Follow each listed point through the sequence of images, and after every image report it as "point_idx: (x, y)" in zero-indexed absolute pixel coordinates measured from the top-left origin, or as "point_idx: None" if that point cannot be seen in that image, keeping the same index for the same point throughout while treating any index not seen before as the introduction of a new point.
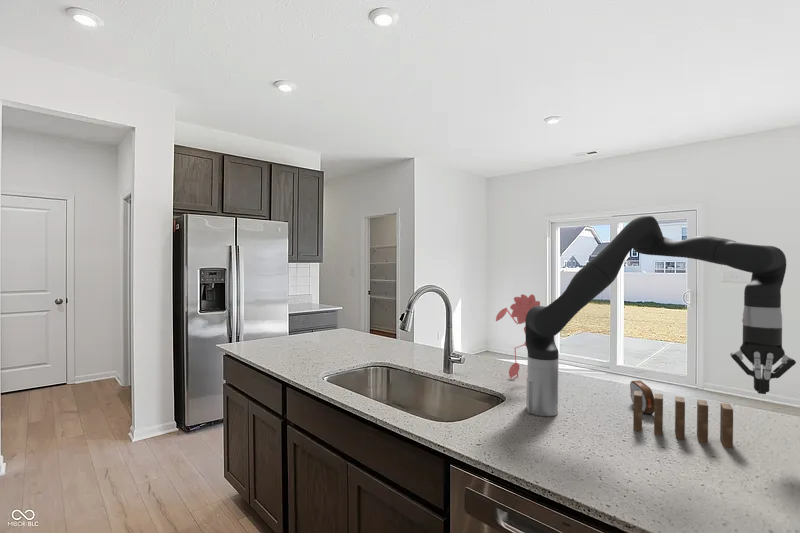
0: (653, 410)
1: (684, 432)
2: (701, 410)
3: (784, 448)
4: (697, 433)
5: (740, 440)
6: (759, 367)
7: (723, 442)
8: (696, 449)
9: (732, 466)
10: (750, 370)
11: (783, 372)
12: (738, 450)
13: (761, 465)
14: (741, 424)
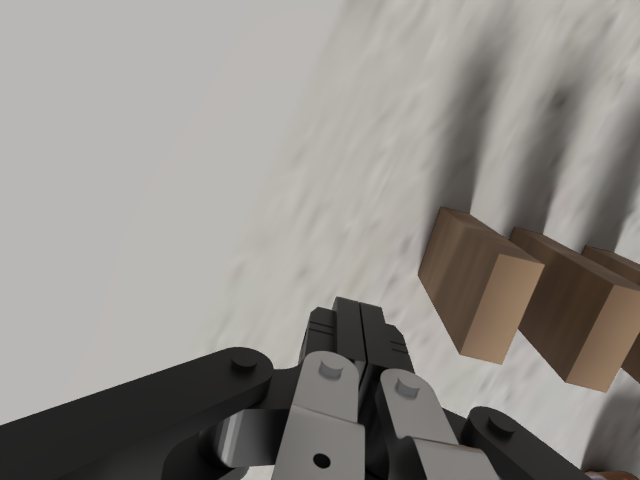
0: (602, 474)
1: (605, 255)
2: (621, 280)
3: (251, 269)
4: None
5: (369, 301)
6: (435, 454)
7: (474, 217)
8: (590, 155)
9: (535, 15)
10: (499, 450)
11: (157, 379)
12: (426, 197)
13: (414, 68)
14: None
